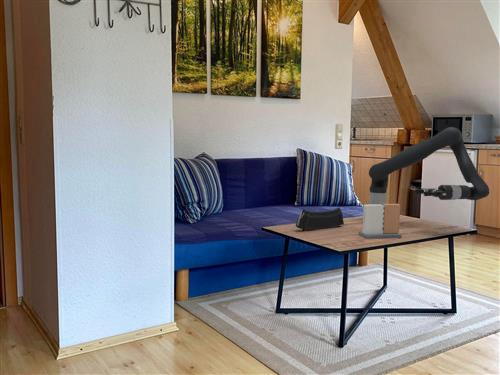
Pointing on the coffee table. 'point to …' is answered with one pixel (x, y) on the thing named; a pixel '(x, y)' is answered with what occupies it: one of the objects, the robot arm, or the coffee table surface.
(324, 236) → the coffee table surface
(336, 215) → the magazine
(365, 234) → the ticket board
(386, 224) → the brown rectangular block
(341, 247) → the coffee table surface
